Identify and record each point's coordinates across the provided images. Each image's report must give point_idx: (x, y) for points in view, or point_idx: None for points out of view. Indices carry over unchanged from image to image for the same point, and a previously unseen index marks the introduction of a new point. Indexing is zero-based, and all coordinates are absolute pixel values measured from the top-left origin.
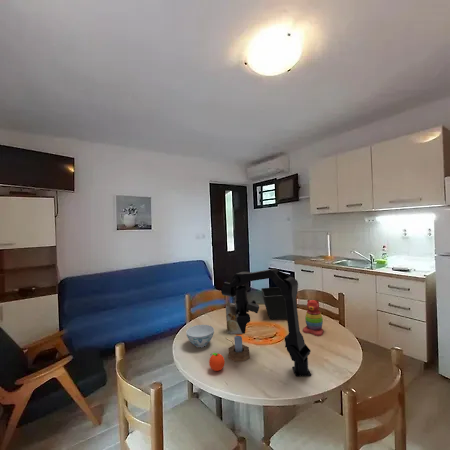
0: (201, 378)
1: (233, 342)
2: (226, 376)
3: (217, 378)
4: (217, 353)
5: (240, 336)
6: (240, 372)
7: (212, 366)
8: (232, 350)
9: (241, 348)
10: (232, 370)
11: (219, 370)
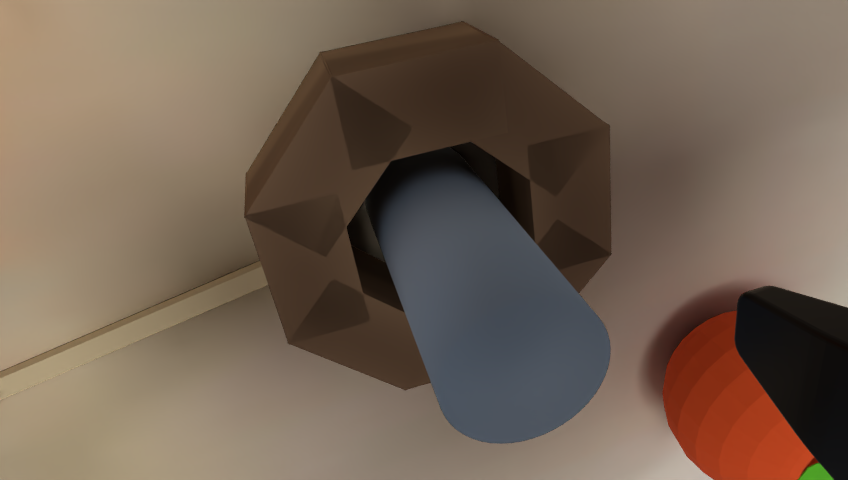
0: None
1: (35, 371)
2: (825, 231)
3: (833, 300)
4: (798, 470)
5: (468, 341)
6: (792, 99)
7: None
8: None
9: (494, 201)
10: (739, 198)
11: None
